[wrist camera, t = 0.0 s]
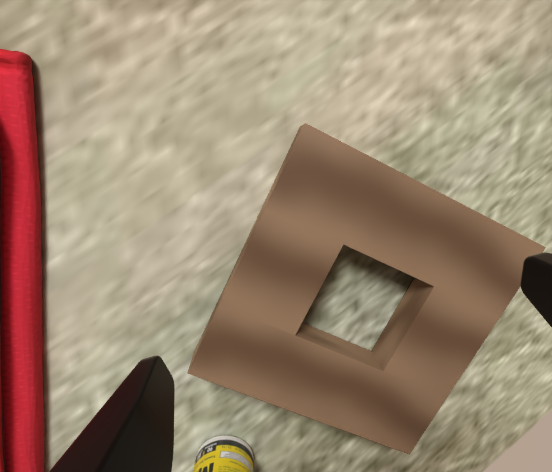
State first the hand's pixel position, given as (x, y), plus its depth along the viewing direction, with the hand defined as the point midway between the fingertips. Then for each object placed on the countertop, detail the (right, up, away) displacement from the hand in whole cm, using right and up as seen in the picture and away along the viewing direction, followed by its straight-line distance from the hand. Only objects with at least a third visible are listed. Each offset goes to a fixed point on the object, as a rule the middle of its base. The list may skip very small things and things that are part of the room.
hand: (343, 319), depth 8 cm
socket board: (+4, -3, +17) cm, 18 cm away
